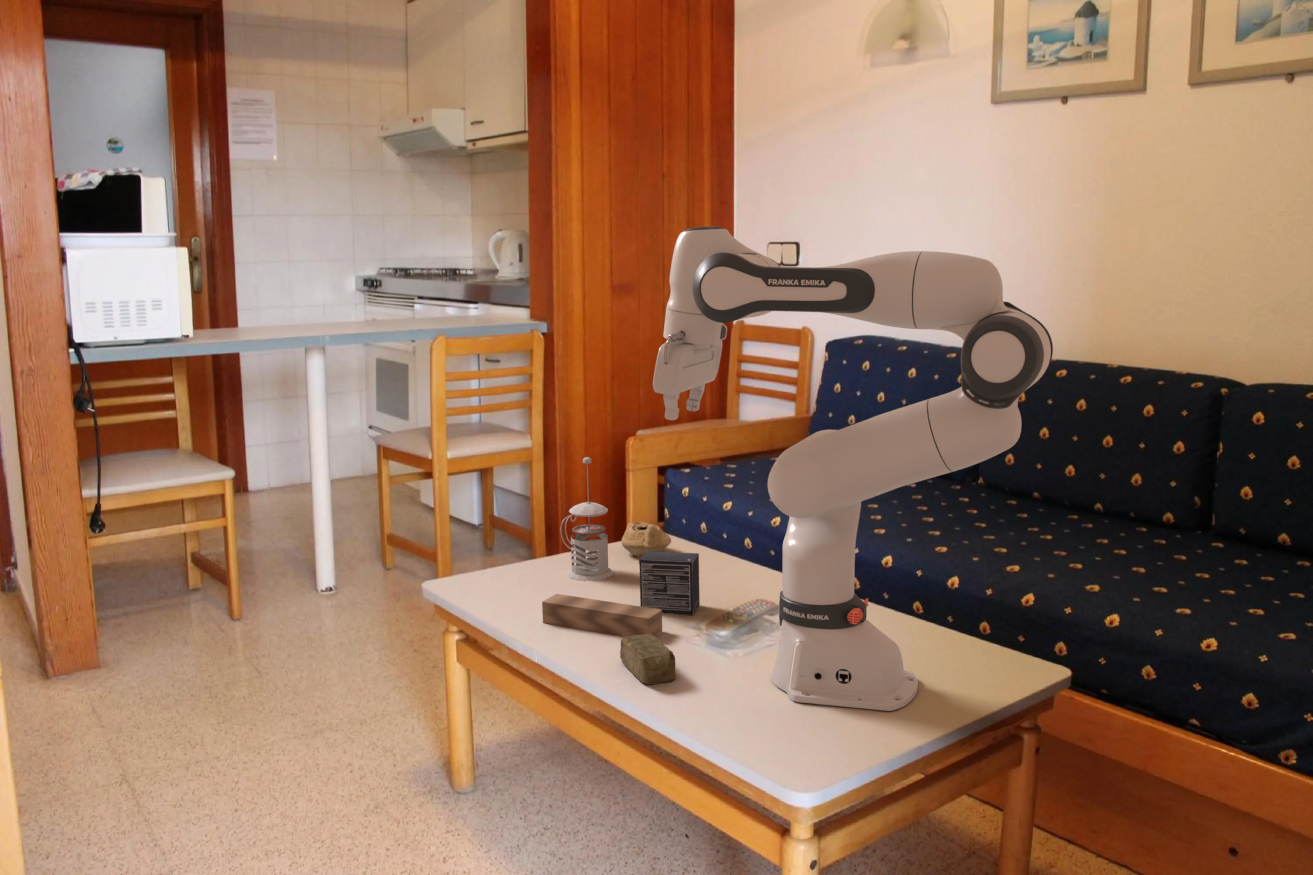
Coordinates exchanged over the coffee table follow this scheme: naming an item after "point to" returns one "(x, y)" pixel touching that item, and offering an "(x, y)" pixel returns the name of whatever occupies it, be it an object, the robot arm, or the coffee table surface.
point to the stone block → (648, 658)
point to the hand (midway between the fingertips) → (682, 414)
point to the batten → (601, 616)
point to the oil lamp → (644, 538)
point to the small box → (670, 582)
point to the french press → (588, 542)
